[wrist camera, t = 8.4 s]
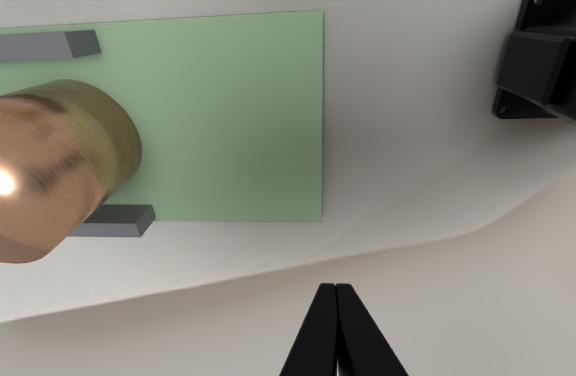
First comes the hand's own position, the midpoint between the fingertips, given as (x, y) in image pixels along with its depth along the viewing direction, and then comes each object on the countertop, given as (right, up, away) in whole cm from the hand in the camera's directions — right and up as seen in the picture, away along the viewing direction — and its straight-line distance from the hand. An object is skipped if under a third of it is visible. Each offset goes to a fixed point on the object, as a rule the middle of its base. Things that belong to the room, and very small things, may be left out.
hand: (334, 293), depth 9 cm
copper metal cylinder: (-15, +6, +12) cm, 20 cm away
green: (-10, +7, +12) cm, 17 cm away
